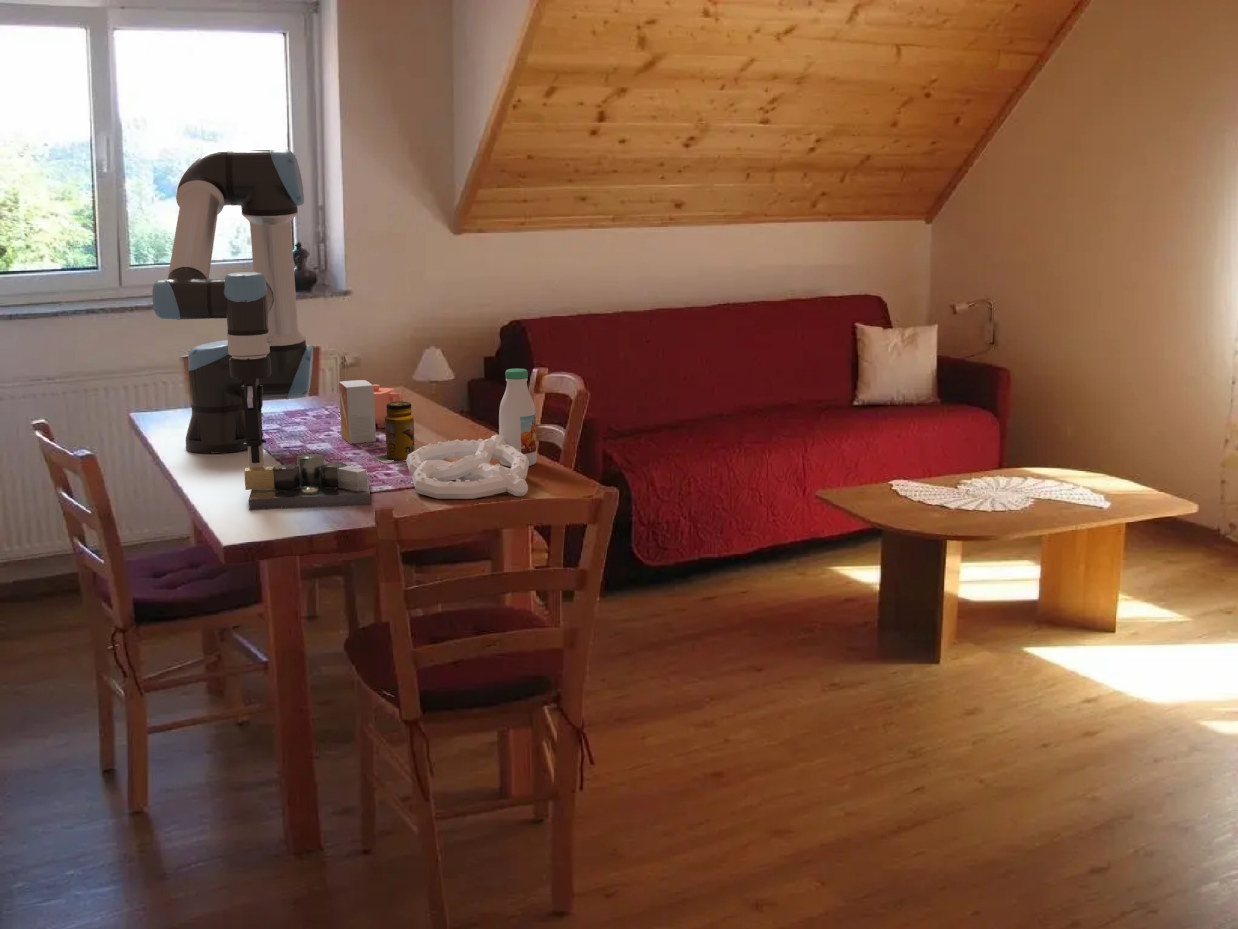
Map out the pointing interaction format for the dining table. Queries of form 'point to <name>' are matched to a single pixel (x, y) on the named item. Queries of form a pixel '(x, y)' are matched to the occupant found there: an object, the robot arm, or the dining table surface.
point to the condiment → (398, 432)
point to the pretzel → (468, 469)
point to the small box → (357, 411)
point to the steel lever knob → (343, 476)
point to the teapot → (383, 403)
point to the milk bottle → (518, 415)
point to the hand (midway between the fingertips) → (257, 478)
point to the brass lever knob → (272, 477)
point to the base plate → (308, 490)
